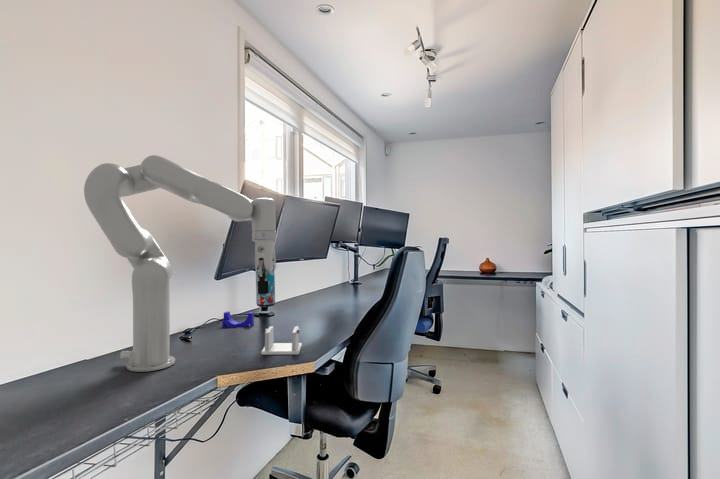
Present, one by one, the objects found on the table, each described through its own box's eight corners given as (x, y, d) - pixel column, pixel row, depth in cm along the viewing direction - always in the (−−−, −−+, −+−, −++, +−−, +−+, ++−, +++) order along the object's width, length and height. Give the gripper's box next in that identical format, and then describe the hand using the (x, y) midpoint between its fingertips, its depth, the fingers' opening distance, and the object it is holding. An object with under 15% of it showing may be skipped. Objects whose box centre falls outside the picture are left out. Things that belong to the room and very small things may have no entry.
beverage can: (268, 307, 123) (267, 260, 123) (252, 306, 125) (251, 260, 125) (278, 304, 129) (277, 258, 129) (263, 303, 131) (262, 258, 131)
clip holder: (261, 354, 127) (261, 332, 127) (267, 345, 137) (267, 325, 137) (298, 354, 127) (298, 332, 127) (301, 345, 137) (301, 325, 137)
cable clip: (222, 327, 164) (222, 313, 164) (226, 325, 169) (226, 311, 169) (250, 328, 164) (250, 314, 164) (253, 325, 168) (253, 311, 168)
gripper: (270, 236, 118) (271, 296, 119) (280, 236, 136) (281, 288, 136) (245, 237, 118) (247, 296, 118) (258, 236, 135) (260, 288, 136)
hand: (265, 291), depth 127 cm, fingers closed on beverage can, 5 cm apart
